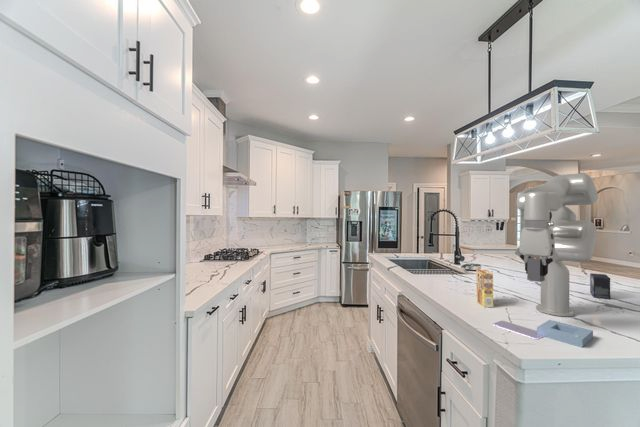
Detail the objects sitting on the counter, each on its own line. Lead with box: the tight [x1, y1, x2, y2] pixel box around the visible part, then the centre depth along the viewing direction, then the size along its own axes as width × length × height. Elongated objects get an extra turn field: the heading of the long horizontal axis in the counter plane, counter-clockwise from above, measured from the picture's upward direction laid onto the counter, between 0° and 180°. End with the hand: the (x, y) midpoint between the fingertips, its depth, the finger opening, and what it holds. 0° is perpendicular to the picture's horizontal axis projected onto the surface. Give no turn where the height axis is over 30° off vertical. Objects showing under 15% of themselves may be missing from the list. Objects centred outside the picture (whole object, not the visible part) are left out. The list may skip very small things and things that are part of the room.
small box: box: [589, 272, 611, 300], centre depth 146 cm, size 11×6×10 cm, turn 144°
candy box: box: [476, 268, 494, 308], centre depth 133 cm, size 9×4×15 cm, turn 171°
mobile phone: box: [492, 320, 546, 341], centre depth 105 cm, size 8×1×15 cm
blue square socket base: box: [536, 319, 594, 348], centre depth 99 cm, size 12×12×3 cm
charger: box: [526, 257, 545, 283], centre depth 108 cm, size 4×4×8 cm
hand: (536, 273), depth 108 cm, fingers closed on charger, 4 cm apart
